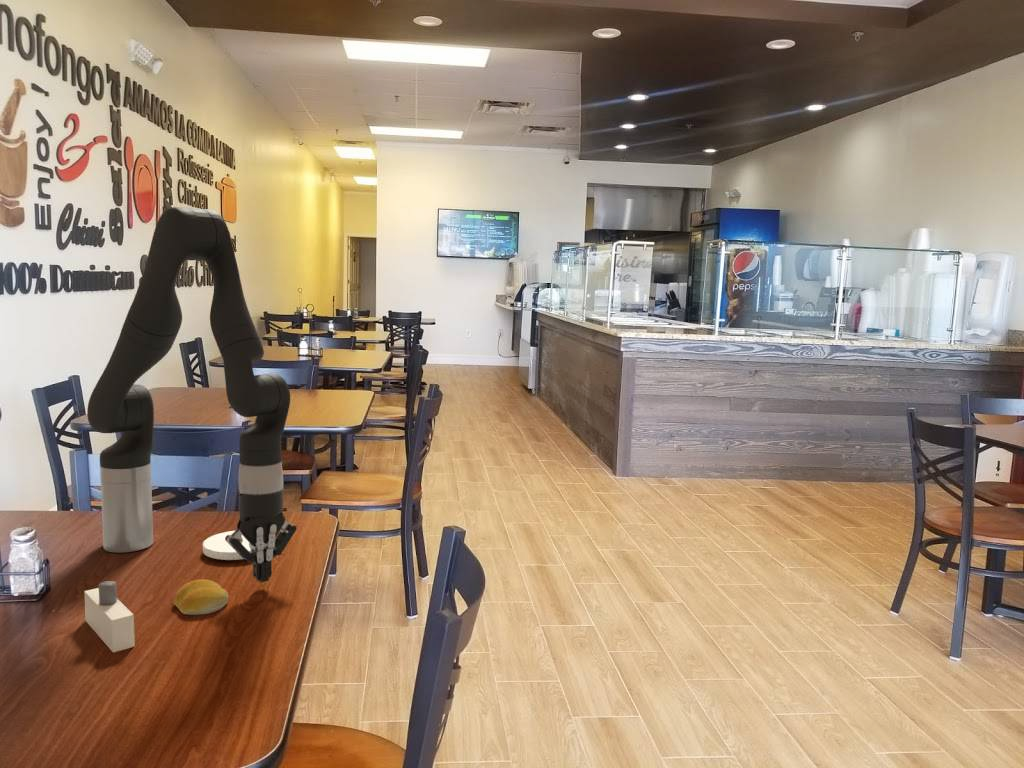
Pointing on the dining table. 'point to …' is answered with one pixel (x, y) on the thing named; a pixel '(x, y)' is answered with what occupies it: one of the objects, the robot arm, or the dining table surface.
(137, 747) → the dining table surface
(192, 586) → the bread roll
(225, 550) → the plastic lid
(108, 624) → the bench stop
